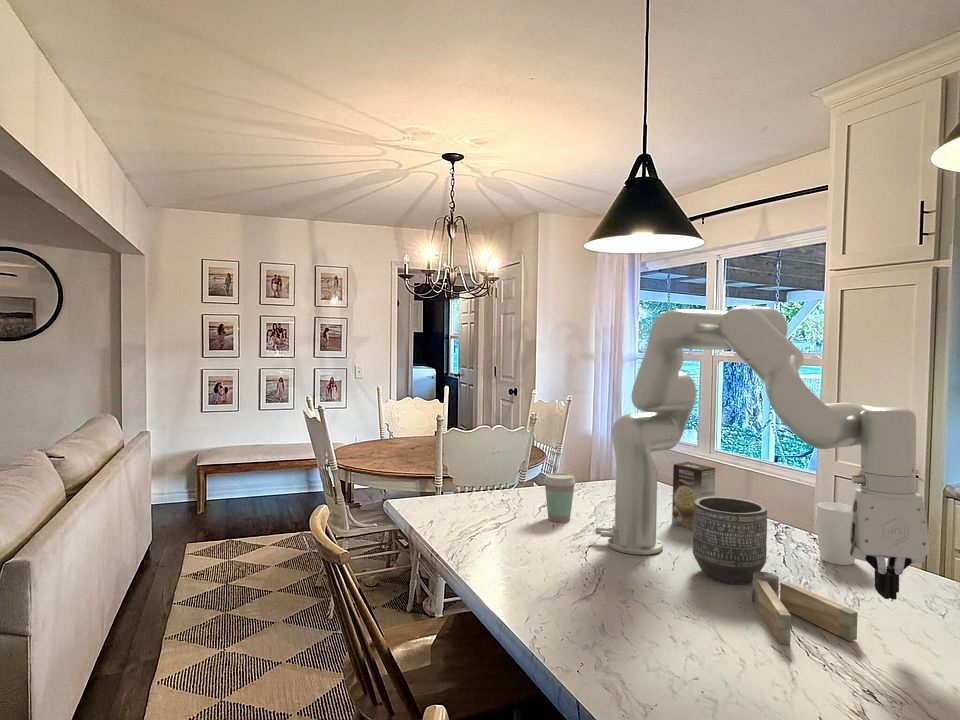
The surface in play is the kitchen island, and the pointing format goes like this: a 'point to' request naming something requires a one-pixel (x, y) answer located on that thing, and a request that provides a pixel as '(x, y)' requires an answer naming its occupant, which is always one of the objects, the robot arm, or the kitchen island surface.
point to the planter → (729, 538)
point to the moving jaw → (819, 610)
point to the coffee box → (690, 490)
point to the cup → (834, 532)
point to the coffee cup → (559, 496)
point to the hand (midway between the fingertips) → (886, 595)
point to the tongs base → (771, 605)
